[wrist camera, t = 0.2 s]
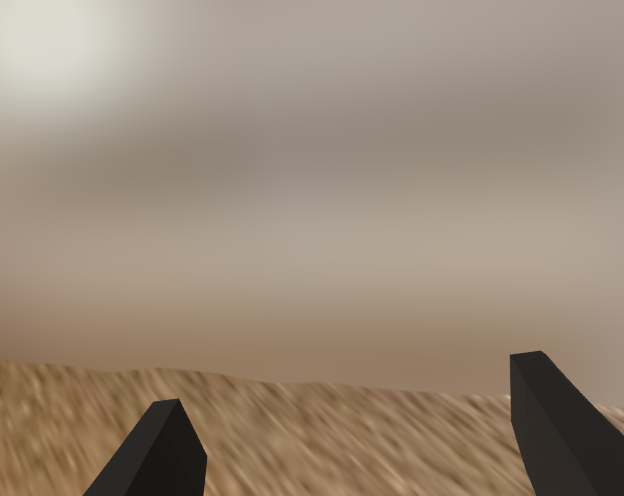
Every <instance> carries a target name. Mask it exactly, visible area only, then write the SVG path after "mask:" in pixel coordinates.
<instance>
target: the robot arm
mask: <svg viewBox="0 0 624 496" xmlns="http://www.w3.org/2000/svg"><path fill="white" fill-rule="evenodd" d="M510 386H511V387H510V388H511V422H512V426H513V429H514V433H515V436H516V439H517V443H518V446H519V449H520V453H521V456H522V459H523V462H524V466H525V469H526V471H527V474H528V476H529V479H530V481H531V483H532V486H533V488H534V491H535V493H536V495H537V496H624V435H623V434H622V433H621V432H620V431H619V430H618V429H617V428H615V427H614V426H613V425H612V424H611V423H610V422H609V421H608V420H607V419H606V418H605V417H604V416H603V415H602V414H601V413H600V412H599V411H598V410H597V409H596V408H595V407H594V406H593V405H592V404H591V403H590V402H589V401H588V400H587V399H586V398H585V397H584V396H583V395H582V394H581V393H580V392H579V390H578V389H577V388H576V387H575V386H574V385H573V384H572V383H571V382H570V381H569V380H568V379H567V378H566V377H565V375H564V374H563V373H562V372H561V371H560V370H559V369H558V368H557V367H556V365H555V364H554V363H553V362H552V361H551V360H550V359H549V357H548V356H547V355H546V354H545V353H543V352H542V351H535V352H528V353H520V354H512V355H510ZM206 465H207V455H206V453H205V451H204V449H203V447H202V444H201V442H200V440H199V438H198V436H197V434H196V432H195V430H194V428H193V426H192V424H191V422H190V420H189V418H188V416H187V414H186V412H185V410H184V408H183V406H182V404H181V402H180V400H179V399H171V400H163V401H156V402H153V403H152V404H151V406H150V407H149V408H148V410H147V411H146V412H145V413H144V415H143V416H142V418H141V419H140V420H139V422H138V423H137V424H136V426H135V427H134V428H133V430H132V431H131V432H130V434H129V435H128V436H127V438H126V439H125V440H124V442H123V443H122V445H121V446H120V447H119V449H118V450H117V451H116V453H115V454H114V455H113V457H112V458H111V459H110V461H109V462H108V463H107V465H106V466H105V467H104V469H103V470H102V471H101V472H100V474H99V475H98V476H97V478H96V479H95V480H94V482H93V483H92V484H91V486H90V487H89V488H88V489H87V491H86V492H85V493H84V494H83V496H203V494H204V485H205V476H206Z"/></svg>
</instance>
